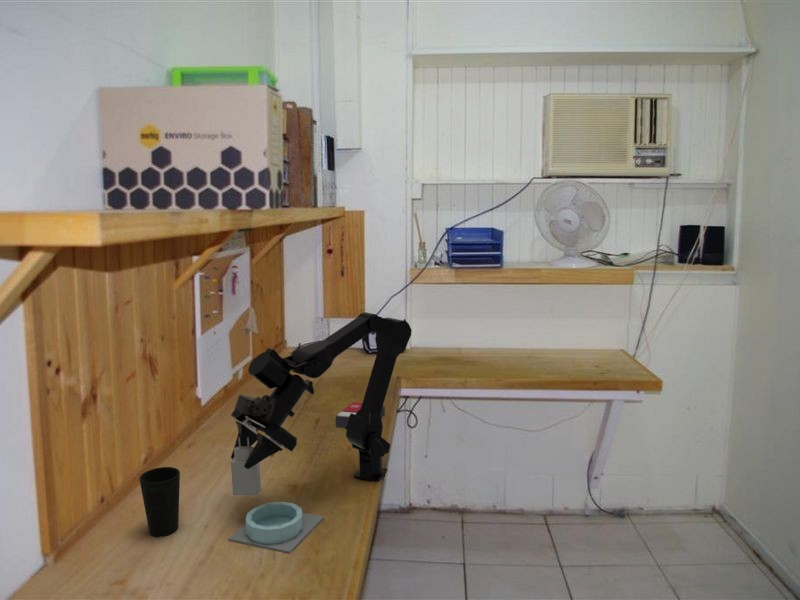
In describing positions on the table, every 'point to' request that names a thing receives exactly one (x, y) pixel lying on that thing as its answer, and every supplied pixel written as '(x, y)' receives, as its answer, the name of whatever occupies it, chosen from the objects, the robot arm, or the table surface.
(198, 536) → the table surface
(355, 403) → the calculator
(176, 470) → the cup
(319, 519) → the mat
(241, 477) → the power adapter
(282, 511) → the bowl
